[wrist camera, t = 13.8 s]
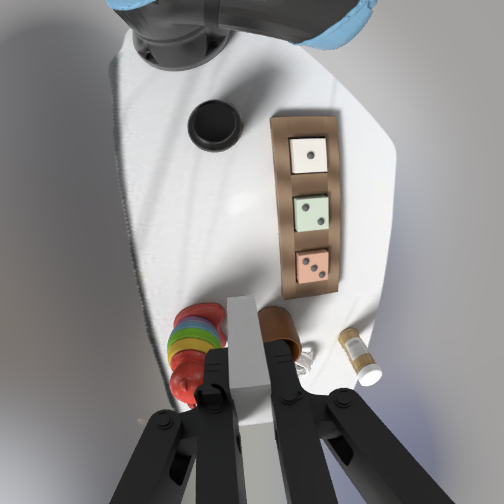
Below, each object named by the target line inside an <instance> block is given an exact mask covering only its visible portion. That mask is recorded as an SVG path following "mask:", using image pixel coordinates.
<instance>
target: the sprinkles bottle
mask: <svg viewBox="0 0 504 504" xmlns="http://www.w3.org/2000/svg"><path fill="white" fill-rule="evenodd" d="M338 341H339V343H340V344H341V346H342V348H343V349H344V352H345V354H346V356H347V358H348V359H349V361H350V362H351V364H352V366H353V368H354V370H355V372H356V374H357V377H358V380H359V382H360V383H361V385H363V386H369V385H372V384H374V383H376V382H377V381H378V380H379V379H380V377H381V376H382V370H381V369H380V367H379V365H378V364H377V363H375V361H374V359H373V357H372V355H371V354H370V352H369V350H368V349H367V347H366V345H365V344H364V342H363V341H362V339H361V338H360V337H359V335H358V333H357V331H356V330H355V329H353V328H349V329H346V330H344V331H343V332H342V333H341V334H340V335H339V337H338Z"/></svg>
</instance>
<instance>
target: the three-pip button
mask: <svg viewBox="0 0 504 504" xmlns="http://www.w3.org/2000/svg"><path fill="white" fill-rule="evenodd" d="M295 276H296V278H297V280H298V282H299V284H300V283H307V282H314V281H321V280H328V251H327V250H326V249H325V248H318V249H310V250H302V251H295Z"/></svg>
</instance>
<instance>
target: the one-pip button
mask: <svg viewBox="0 0 504 504" xmlns="http://www.w3.org/2000/svg"><path fill="white" fill-rule="evenodd" d="M288 145H289V158H290V171H291V172H293V173H307V172H326V171H327V157H326V141H325V139H292V140H288Z"/></svg>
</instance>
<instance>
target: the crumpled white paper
mask: <svg viewBox="0 0 504 504" xmlns="http://www.w3.org/2000/svg"><path fill="white" fill-rule="evenodd" d="M312 358H313V350H312V349H311V352H308V353H306V352H301V355H300V357H299V359H298V360H297V361H296V362H295V364H297V365H299V366H302V367H304V369H303V370H302V371H296V372H297V375H298V378H302V377H305V376H307V375H308V374H309V372H310V370H311V366H312V364H313V361H312Z"/></svg>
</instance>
